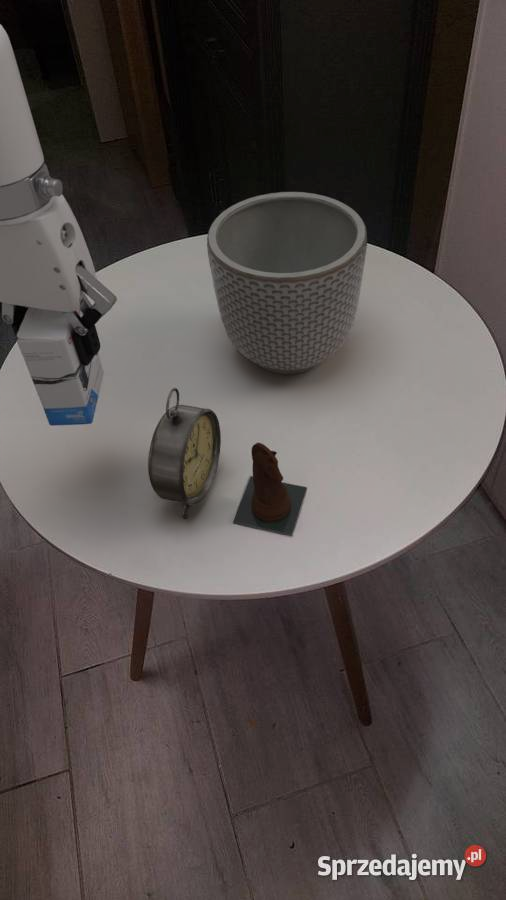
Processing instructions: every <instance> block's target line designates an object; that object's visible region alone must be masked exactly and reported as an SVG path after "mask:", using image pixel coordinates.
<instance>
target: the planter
mask: <svg viewBox="0 0 506 900" xmlns="http://www.w3.org/2000/svg"><path fill="white" fill-rule="evenodd" d="M206 237H207V238H206V241H207V242H206V252H207V257H208V263H209V269H210V273H211V277H212V284H213V290H214V296H215V299H216V303H217V308H218V312H219V316H220V318H221V322H222V324H223V327H224V330H225V332H226V336H227V337H228V339H229V341H230V342H231V343H232V345H233V347H234V348H235V349H236V350H237V351H238V352H239V353H240V354H241V355H243V356H244V357H245V358H246V359H248V360H249V361H251V362H252V363H255V364H256V365H259V366H260V367H261V368H263V369H264V370H266V371H269V372H271V373H273V374H279V375H298V374H302V373H305V372H308V371H310V370H312V369H314V368H316V367H317V366H318V365H319V364H320V363H323V362H324V361H326V360H327V359H329V358H330V357H332V356H333V355H334V354H335V353H336V352H337V351H338V350H339V349H340V348H341V347H342V346H343V344H344V343H345V341H347V338H348V337H349V334H350V332H351V330H352V328H353V325H354V323H355V322H354V321H355V318H356V315H357V309H358V304H359V299H360V295H361V289H362V282H363V276H364V268H365V264H366V263H365V262H366V256H367V248H368V233H367V227H366V224H365V222H364V220H363V218H362V217H361V216H360V214H359V213H357V211H355V210H354V208H351V207H350V206H349V205H347V204H345V203H343V202H342V201H339V200H337V199H335V198H332V197H329V196H326V195H322V194H318V193H312V192H304V191H280V192H271V193H270V192H269V193H266V194H260V195H256V196H253V197H249V198H247V199H244V200H241V201H239V202H237V203H235V204H233V205H231V206H229V207H228V208H227V209H225V210H224V211H222V212H221V213H220V214H219V215H218V216H217V217H216V218H215V219H214V220H213V221H212V223H211V225H210V227H209V229H208V232H207V236H206Z"/></svg>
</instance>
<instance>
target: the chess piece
mask: <svg viewBox="0 0 506 900" xmlns="http://www.w3.org/2000/svg"><path fill="white" fill-rule="evenodd" d="M277 454H278V452H277V451H276V450H271V449H270V448H269V447H267V446H266V445H265V444H264V443H261V442H256V443H254V444H253V445H251V458H252V476H253V482H254V488H255V489H254V493H253V496H252V501H251V507H252V511H253V513H254V515H255V516H256V517H257V518H259V519H260V520H263V521H266V522H276V521H279V520H281V519H283V518H285V517H286V516H287V514H288V513H289V511H290V509H291V500H290V496H289V494H288V492H287V489H286V487H285V486H284V485H283V484H282V482H283V481H284V477H283V475H282V473H281V471H280V468H279V459H278V458H277V457H276V455H277Z"/></svg>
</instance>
